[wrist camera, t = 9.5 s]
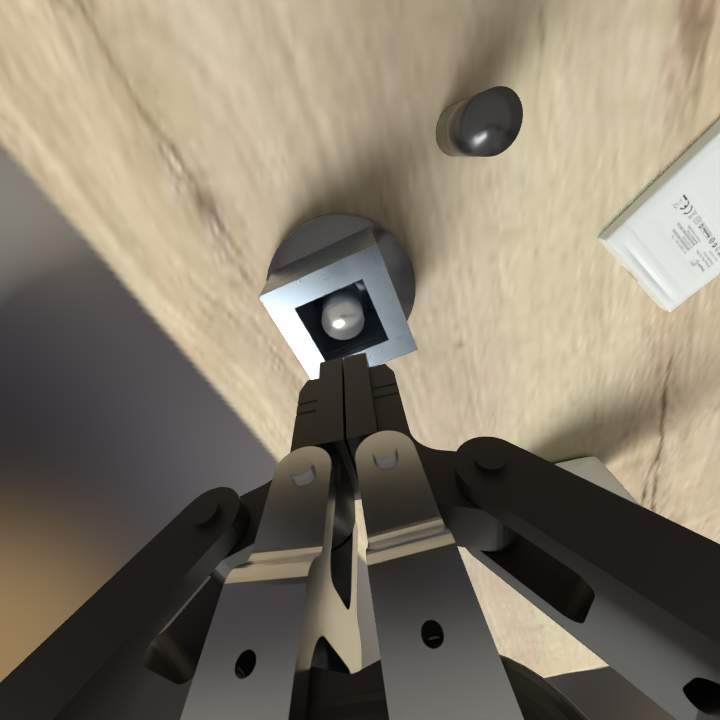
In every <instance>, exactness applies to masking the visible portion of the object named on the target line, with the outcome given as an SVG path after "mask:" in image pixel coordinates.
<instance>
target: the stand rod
mask: <svg viewBox="0 0 720 720" xmlns="http://www.w3.org/2000/svg"><path fill="white" fill-rule="evenodd" d="M522 119H523V109H522V104H521V101H520V99H519V97H518V95H517V94H516V93H515V92H514V91H513V90H512V89H510V88H508V87H503V86H498V87H493V88H491V89H488V90H486V91H484V92H481V93H479V94H477V95H474V96H472V97H470V98H468V99H465V100H463V101H461V102H458V103H456V104H454V105H452V106H450V107H449V108H447V109H446V110H445V111H444V112H443V114H442V115H441V117H440V119H439V121H438V124H437V128H436V140H437V144H438V146H439V148H440V149H441V150H442V152H444V153H445V154H447V155H449V156H480V157H489V156H495V155H498V154H500V153H502V152H503V151H505V150H506V149H507V148H508V147H509V146H510V145H511V144H512V143H513V142H514V140H515V139H516V137H517V135H518V133H519V131H520V128H521V124H522Z"/></svg>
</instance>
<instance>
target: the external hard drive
mask: <svg viewBox="0 0 720 720" xmlns="http://www.w3.org/2000/svg"><path fill="white" fill-rule="evenodd" d="M597 239H598V240H599V241H600V242H601V243H602V244H603V245H604V246H605V247H606V248H607V249H608V251H609V252H610V253H611V254H612V255H613V256H614V257H615V258H616V259H617V260H618V262H619V263H620V264H621V265H622V266H623V267H624V268H625V269H627V270H629V271H630V272H631V273H632V274H633V275H634V277H635V278H636V279H637V280H636V281H637V283H638V284H639V285H640V286H641V287H642V288H643V289H644V290H645V292H646V293H647V294H648V295H649V296H650V297H651V298H652V299H653V300H654V302H655V303H656V304H657V305H658V306H659V307H660V308H662V309H664V310H667V311H669V312H670V311H672V310H673V309H674V308H676V307H677V306H678V305H680V304H681V303H682V302H684V301H685V300H686V299H687V298H688V297H689V296H691V295H692V294H694V293H695V292H696V291H697V290H699V289H700V288H701V287H703V286H704V285H705V284H707V283H708V282H709V281H711V280H712V279H713V278H714V277H716V276H717V275H718V274H720V118H719V119H718V120H717V121H716V122H715V123H714V124H713V125H712V126H711V127H710V128H709V129H708V130H707V131H706V132H705V133H704V134H703V135H702V136H701V137H700V138H699V139H697V140H696V141H695V142H694V143H693V144H692V145H691V146H690V147H689V148H688V149H687V150H686V151H685V152H684V153H683V154H682V155H681V156H680V157H679V158H678V159H677V160H676V161H675V162H674V163H673V164H672V165H671V166H670V167H669V168H668V169H667V170H666V171H665V172H664V173H663V174H662V175H661V176H660V177H658V178H657V179H656V180H655V181H654V182H653V183H652V184H651V185H650V186H649V187H648V188H647V189H646V190H645V191H644V192H643V193H642V194H641V195H640V196H639V197H638V198H637V199H636V200H635V201H634V202H633V203H632V204H631V205H630V206H629V207H628V208H627V209H626V210H625V211H624V212H622V213H621V214H620V215H619V216H618V217H617V218H616V219H615V220H614V221H613V222H612V223H611V224H610V225H609V226H608V227H607V228H606V229H605V230H604V231H603V232H602V233H601V234H600V235H599V236H598V237H597Z"/></svg>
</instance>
